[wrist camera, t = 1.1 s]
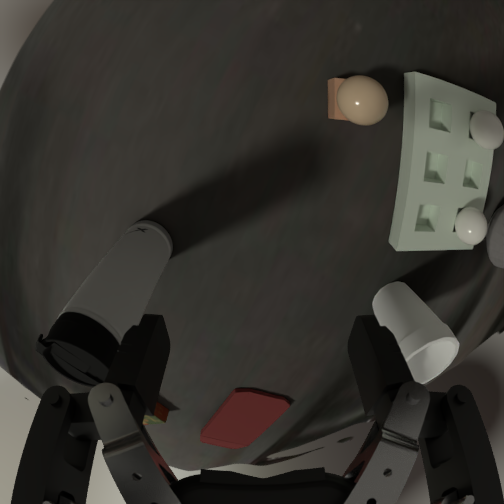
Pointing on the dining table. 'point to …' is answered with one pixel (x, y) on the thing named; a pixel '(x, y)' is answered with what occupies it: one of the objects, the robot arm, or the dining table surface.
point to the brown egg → (362, 100)
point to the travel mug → (107, 305)
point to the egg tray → (438, 164)
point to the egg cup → (334, 99)
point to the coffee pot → (496, 238)
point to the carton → (157, 415)
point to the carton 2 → (243, 418)
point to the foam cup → (415, 331)
